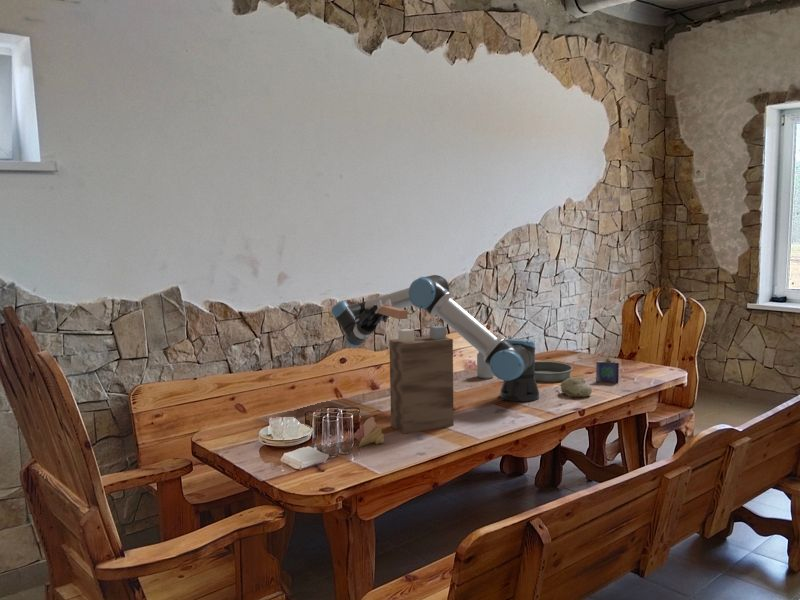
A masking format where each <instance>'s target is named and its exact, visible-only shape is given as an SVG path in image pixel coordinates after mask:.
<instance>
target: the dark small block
mask: <svg viewBox="0 0 800 600" xmlns="http://www.w3.org/2000/svg"><path fill="white" fill-rule="evenodd" d="M595 364H596V365H595V367H596V369H595V382H596V383H605V384H606V383H607V384H619V379H620V378H619V368H620V367H619V365H620V364H619V362H618V361H615V360H611V359H610V357H609V356H608V357H605V360H603V361H602V360H597V361H596V363H595Z"/></svg>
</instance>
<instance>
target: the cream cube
mask: <svg viewBox="0 0 800 600" xmlns="http://www.w3.org/2000/svg"><path fill="white" fill-rule="evenodd" d="M397 331H398V332H397V333H398V334H397V335H398V338H397V339H398V341H399V342H402V343H410V342H415V338H414V337H415V329H411V328H402V329H401V328H400V329H399V328H398V329H397Z"/></svg>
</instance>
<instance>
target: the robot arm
mask: <svg viewBox="0 0 800 600" xmlns="http://www.w3.org/2000/svg"><path fill="white" fill-rule="evenodd" d="M373 304H376V305H374V306H373ZM382 304H384V305H388V306H392V307H396V308H400V309H405V308H406V309H407V308H409V307H412V306H414V307H416V308H419V309H422V310H423V309H424V310H425V311H426V312H427V313H428V314H429V315H431V316H438V318H440V319H441V320H442V321H444V323H446V324H447V325H448V326H449V327H450V328H451V329H453V330H454V331H455V332H456V333H458V335H460V336H461V337H462V338H463V339H464V340H465V341H466V342H468V343H469V344H470V345H471V346H472V347H474V348H475V349H476V350H477V351H479V352H480V353H482V354H483V355H484V361H485V362H486V363H487V364H488V365H489V366H490V367H491V371H492V373H493V374H494V377H496V378H497V379H499V380H501V381H503V382H502V385H501V388H500V393H499V394H500V398H501V399H503V400H506V401H512V402H532V401H536V400H538V399H539V398H540V391H539V387H538V384H537V381H535V362H536V359H535V358H536V345H535V342H534V340H532V339H522V338H521V339H520V338H519V339H518V338H508V339H506V338H505V337H497V336H496V335H495V334H494V333H493V332H492V331H491V330H489V329H488V328H487V327H486V326H485V325H484V324H482V323H481V322H480V321H479V320H477V318H475V317H474V316H473V315H472V314H471V313H469V312H468V311H467V310H466V309H465V308H463V307H462V305H460V304H459V303H457V302H456V301H455V300H454V299H453V298H452V292H451V291H450V285H449V283H448V281H447V279H446V278H444V276H441V275H438V274H432V275H427V276H420V277H418V278H416V279H415V280H413V281H412V282H411V284H410V286H409V287H408V288H407V287H406V288H404V289H400V290H398V291H394V292H391V293H388V294H385V295H381V296H379V297H375V298H372V299H369V300H365V301H361V302H358V303H354V304H350V305H349V303H347V301H346V300H342V301H340V302H338V303H336V304H334V305H333V307H331V311H330V312H331V313H332V315H333V317H334V319H335V320H336V321H337V324H338V325H339V326H340V328H341V330H342V331H343V332H344V334H345V341H346V344H347V346H349V347H351V348H355V349H357V348H359V347H360V346H362V345H363V344H364V343H365V341H366V340H367V339H368V338H369V337H370V336H371V334H372V333H373V332H374V331H375V330H376V329H377V326H378V325H379V324H380V323H381V322H384V323H387V322H388V318H390V316H386V315H383V314H379V313H378V311H379V310H380V309H381V308H382V307H383V305H382ZM479 352H478V353H479Z"/></svg>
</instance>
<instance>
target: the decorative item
mask: <svg viewBox="0 0 800 600" xmlns="http://www.w3.org/2000/svg"><path fill="white" fill-rule="evenodd" d="M560 391H561V393H563V394H565V395H566V396H568V397H572V398H577V399H578V398H585V397H586V398H587V397H589V396H590V395H591V394H592V391H593V389H592V387H591V386H590V385H588V384H586V380H585V378H583V377H580V376H572V377H569V378H567V379H566V380H562V381H561V383H560Z"/></svg>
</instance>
